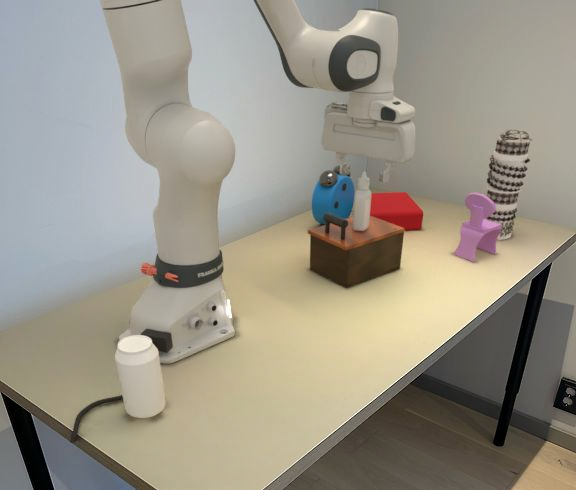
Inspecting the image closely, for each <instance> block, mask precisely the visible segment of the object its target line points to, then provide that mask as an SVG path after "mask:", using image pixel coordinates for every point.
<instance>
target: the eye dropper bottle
mask: <svg viewBox="0 0 576 490" xmlns="http://www.w3.org/2000/svg"><path fill="white" fill-rule="evenodd" d="M370 183H371V178H370V177H369V176H368V175H367V171H362V174H361V176H360V177H358V179H357V189H356V190H355V195H354V203H353V214H352V217H353V230H355V231H365V230H366V229H368V227H369V220H370V207H371V193H372V191H371V190H370Z"/></svg>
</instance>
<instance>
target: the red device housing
mask: <svg viewBox="0 0 576 490" xmlns="http://www.w3.org/2000/svg"><path fill="white" fill-rule="evenodd" d="M370 216H373V217H375V218H378V219H381V220H383V221H386V222H389V223H392V224H394V225H397V226H400V227H402V228H405V229H404V231H414V230H415V231H417V230H422V227H423V219H424V210H423V209H422V208H421V207H420V206H419V205H418V203H416V201H415V200H414V199H413V198H412V197H411V196H410V195H409V194H408V193H407V192H406V191H397V192H394V191H393V192H371V207H370Z"/></svg>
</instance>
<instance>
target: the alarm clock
mask: <svg viewBox="0 0 576 490" xmlns="http://www.w3.org/2000/svg"><path fill="white" fill-rule="evenodd" d="M351 173H352V172H351V171H350V173H349V174H348V175H342V174H340V166H339V164H338V165H336V166H335V167H334V168H333V169H327V170H324V171H323V172H321V173H320V175H319V177H318V180H317V182H316V184H315V187H314V189H313V193H312V198H311V213H312V217H313V219H314V220H315V221H316V222H317V223H318V227H320V226H322V225H325V221H324V219H323V216H324V214H325V213H330V214H332V215H335V216H337V217H340V218H342V219H348V218H350V215H351V213H352V211H353V208H354V197H355V192H356V190H355V185H354V182H353V179H352V178H351V175H352V174H351Z"/></svg>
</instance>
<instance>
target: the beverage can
mask: <svg viewBox="0 0 576 490" xmlns="http://www.w3.org/2000/svg"><path fill="white" fill-rule="evenodd" d="M116 346H117V348H116V351H115V354H114V360H115V366H116V371H117V376H118V380H119V385H120V391H121V395H122V396H123V400H122V401H123V405H124V409H125V411H126V413H127V415H129V416H131V417H133V418H138V419H149V418H154V417H155V416H156V415H158V414H160V413H162V411H163V410H165V408H166V403H167V402H166V393H165V388H164V380H163V374H162V366H161V363H160V359H159V353H158V349H157V348H156V346H155V345H154V344H153V343H152V340H151V338H149V337H147V336H144V335H132V336H128V337H125V338H123V339H122V340H120V341H119V340H118V342H117V345H116Z"/></svg>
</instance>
